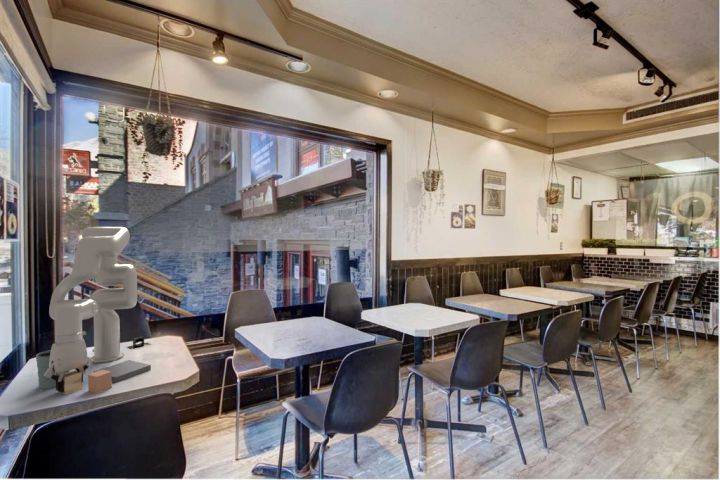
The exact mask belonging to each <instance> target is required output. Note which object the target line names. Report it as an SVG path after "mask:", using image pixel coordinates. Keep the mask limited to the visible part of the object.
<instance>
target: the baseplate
mask: <svg viewBox="0 0 720 480" xmlns="http://www.w3.org/2000/svg"><path fill="white" fill-rule="evenodd" d="M100 370H106V371H111V377H112V383H118V382H121V381H123V380H126V379H129V378H132V377H134V376H137V375H140V374H143V373H145V372H148V371H150V370H152V364H149V363H144V362H139V361H137V360H136V361H135V360H131V359H130V360H129V359H128V360H125V361H121V362H119V363H115V364H113V365H110V366H106V367H103V368H100V369H97V370H94V371H93V373H94V372H97V371H100Z"/></svg>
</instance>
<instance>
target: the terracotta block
mask: <svg viewBox="0 0 720 480" xmlns="http://www.w3.org/2000/svg"><path fill="white" fill-rule="evenodd" d="M99 370H100V369H99ZM96 371H97V370H96ZM87 382H88V383H87V389H88V390H87V391H88V392H91V393H94V394H99V393H102V392H105V391H107V390H109V389H112V387H113V385H112V383H113V382H112V377H111V371H106V370H100V371H97V372H94V371H93V372H92V373H89V374H87Z"/></svg>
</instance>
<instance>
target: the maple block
mask: <svg viewBox="0 0 720 480" xmlns="http://www.w3.org/2000/svg"><path fill="white" fill-rule="evenodd" d="M62 380H63V381H64V392H62V393H61V392H58V393H59V394H62V395H69V394H72V393H74V392H77V391H81V390H82V389H83V382H82V373H81V372H77V371H76V370H70V371H69V372H67V373H64V375H63V379H62Z"/></svg>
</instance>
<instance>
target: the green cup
mask: <svg viewBox="0 0 720 480" xmlns="http://www.w3.org/2000/svg"><path fill="white" fill-rule="evenodd" d="M50 352H51V349H50V350H46V351H45V350H44V351H41V352H39V353H37V354H36V355H35V359H36V368H37V376H38V387H39V389H41V390H49V389H54V387H55V388H56V381H55V380H53V379H51V378H49V377H46V376H44V373H45V372H46V371H47V369H48V368H49V360H50ZM70 371H71V370H69V371H66V372H64V373H67V372H70ZM55 373H56V372H55V371H54V372H52V374H53V375H55Z"/></svg>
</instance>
